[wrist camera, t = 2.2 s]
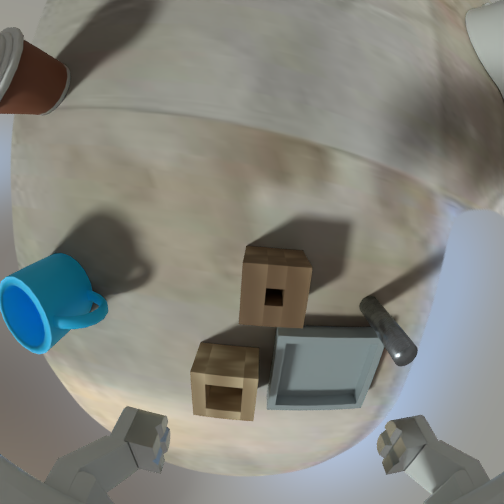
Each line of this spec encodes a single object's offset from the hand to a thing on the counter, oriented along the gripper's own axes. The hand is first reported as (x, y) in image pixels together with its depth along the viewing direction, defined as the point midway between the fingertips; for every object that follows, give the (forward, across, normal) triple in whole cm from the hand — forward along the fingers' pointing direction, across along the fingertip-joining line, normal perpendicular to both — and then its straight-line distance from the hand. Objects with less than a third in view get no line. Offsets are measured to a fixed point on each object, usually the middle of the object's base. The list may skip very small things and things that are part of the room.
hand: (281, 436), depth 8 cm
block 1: (+18, +3, +11) cm, 21 cm away
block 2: (+18, 0, 0) cm, 18 cm away
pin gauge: (+18, -10, +2) cm, 21 cm away
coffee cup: (+18, +26, -19) cm, 37 cm away
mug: (+18, +21, +4) cm, 28 cm away
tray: (+18, -7, +10) cm, 22 cm away
